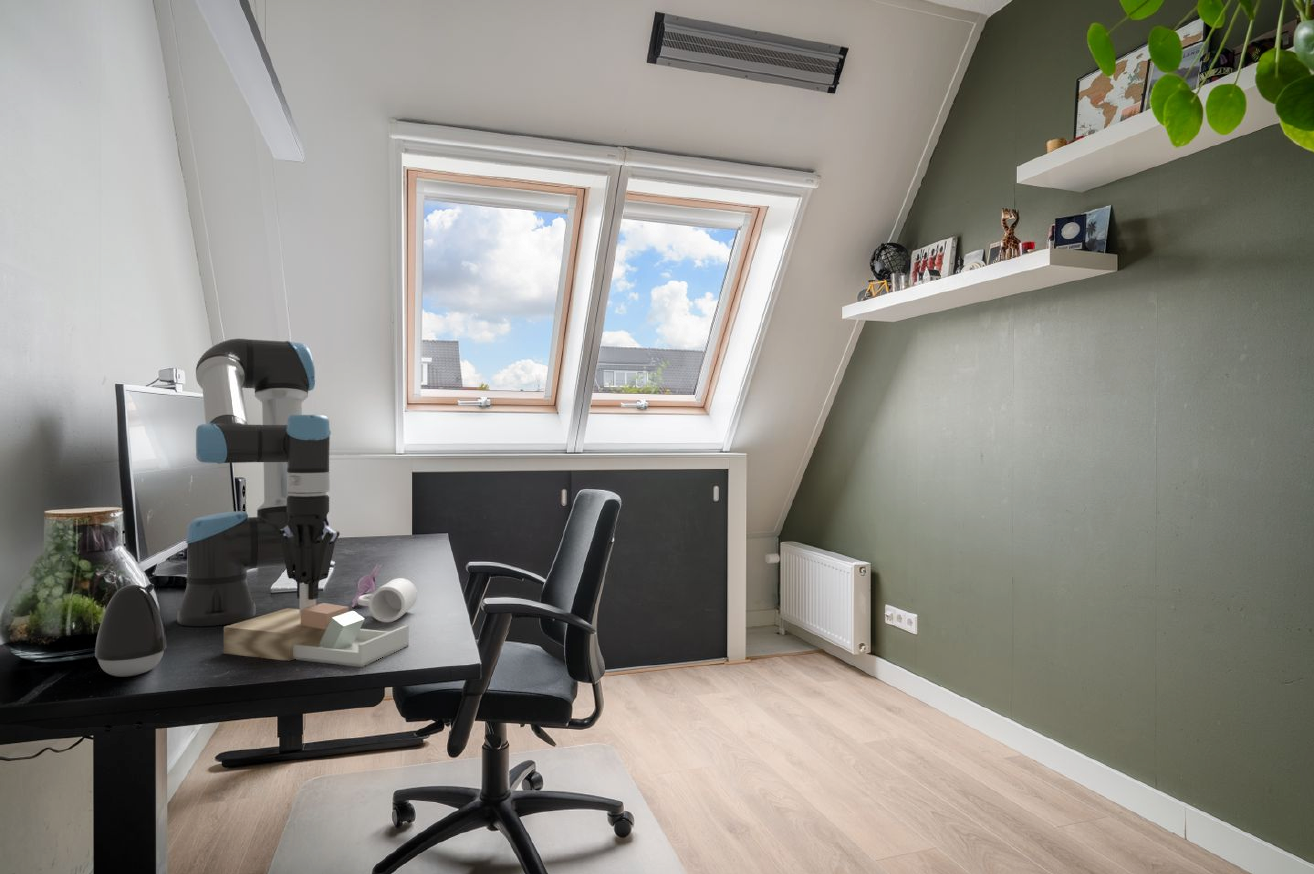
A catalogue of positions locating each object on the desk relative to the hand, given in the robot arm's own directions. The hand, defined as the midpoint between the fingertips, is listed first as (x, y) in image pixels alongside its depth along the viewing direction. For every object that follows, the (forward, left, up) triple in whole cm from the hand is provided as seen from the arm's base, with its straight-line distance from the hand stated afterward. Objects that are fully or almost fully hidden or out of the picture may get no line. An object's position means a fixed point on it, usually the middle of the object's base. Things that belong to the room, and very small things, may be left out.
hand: (307, 615), depth 148 cm
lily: (-14, +36, -7) cm, 39 cm away
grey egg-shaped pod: (-18, -21, -7) cm, 29 cm away
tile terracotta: (+4, 0, -1) cm, 4 cm away
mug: (-1, +26, -7) cm, 27 cm away
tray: (+10, 0, -6) cm, 12 cm away
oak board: (-5, 0, -6) cm, 8 cm away
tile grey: (+7, 0, -2) cm, 7 cm away
